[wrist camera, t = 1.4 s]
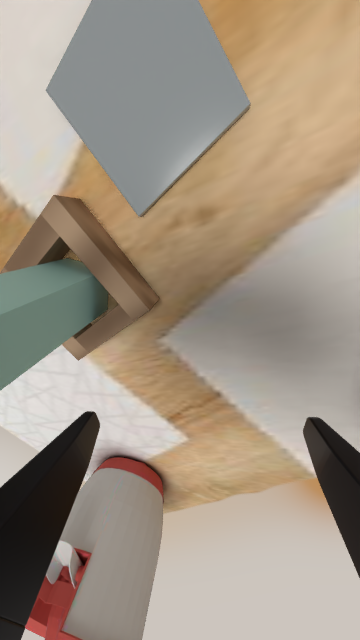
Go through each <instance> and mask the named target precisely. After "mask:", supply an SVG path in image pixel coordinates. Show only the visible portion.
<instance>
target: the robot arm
mask: <svg viewBox="0 0 360 640" xmlns="http://www.w3.org/2000/svg"><path fill="white" fill-rule="evenodd" d="M99 428H100V422H99V420H98V417H97V415H96V413H95V412H89V411H87V412H85V413H83V414H82V415H81V416H80V417H79V418H78V419H77V420H75V421H74V422H73V423H72V424H71V425H70V426H69V427H68V428H66V429H65V430H64V431H63V432H62V433H61V434H60V435H59V436H57V437H56V438H55V439H54V440H53V441H52V442H51V443H50V444H49V445H47V446H46V447H45V448H44V449H43V450H42V451H41V452H40V453H38V454H37V455H36V456H35V457H34V458H33V459H32V460H31V461H29V462H28V463H27V464H26V465H25V466H24V467H23V468H22V469H21V470H19V471H18V472H17V473H16V474H15V475H14V476H13V477H12V478H11V479H9V480H8V481H7V482H6V483H5V484H4V485H3V486H2V487H1V488H0V640H21V638H22V635H23V632H24V630H25V626H26V624H27V622H28V619H29V617H30V614H31V612H32V609H33V607H34V604H35V601H36V599H37V596H38V594H39V591H40V589H41V586H42V584H43V581H44V578H45V576H46V573H47V571H48V568H49V566H50V563H51V561H52V558H53V555H54V553H55V550H56V548H57V545H58V543H59V540H60V538H61V535H62V533H63V530H64V527H65V525H66V522H67V520H68V517H69V515H70V512H71V510H72V507H73V504H74V502H75V499H76V497H77V494H78V492H79V489H80V486H81V484H82V481H83V479H84V476H85V474H86V471H87V468H88V466H89V463H90V459H91V456H92V453H93V449H94V446H95V442H96V439H97V435H98V432H99ZM303 434H304V438H305V441H306V444H307V447H308V450H309V454H310V457H311V460H312V463H313V466H314V469H315V472H316V475H317V478H318V481H319V483H320V486H321V488H322V490H323V493H324V495H325V497H326V500H327V502H328V505H329V507H330V509H331V511H332V514H333V516H334V518H335V521H336V523H337V526H338V528H339V530H340V533H341V535H342V537H343V540H344V542H345V544H346V547H347V549H348V552H349V554H350V556H351V559H352V561H353V563H354V566H355V568H356V571H357V573H358V575H359V578H360V453H359V452H358V451H357V450H356V449H355V448H354V447H353V446H351V445H350V444H349V443H348V442H347V441H346V440H345V439H343V438H342V437H341V436H340V435H339V434H338V433H337V432H335V431H334V430H333V429H332V428H331V427H330V426H329V425H328V424H326V423H325V422H324V421H323V420H322V419H320V418H318V417H308V418H307V420H306V423H305V426H304V429H303Z"/></svg>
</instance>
